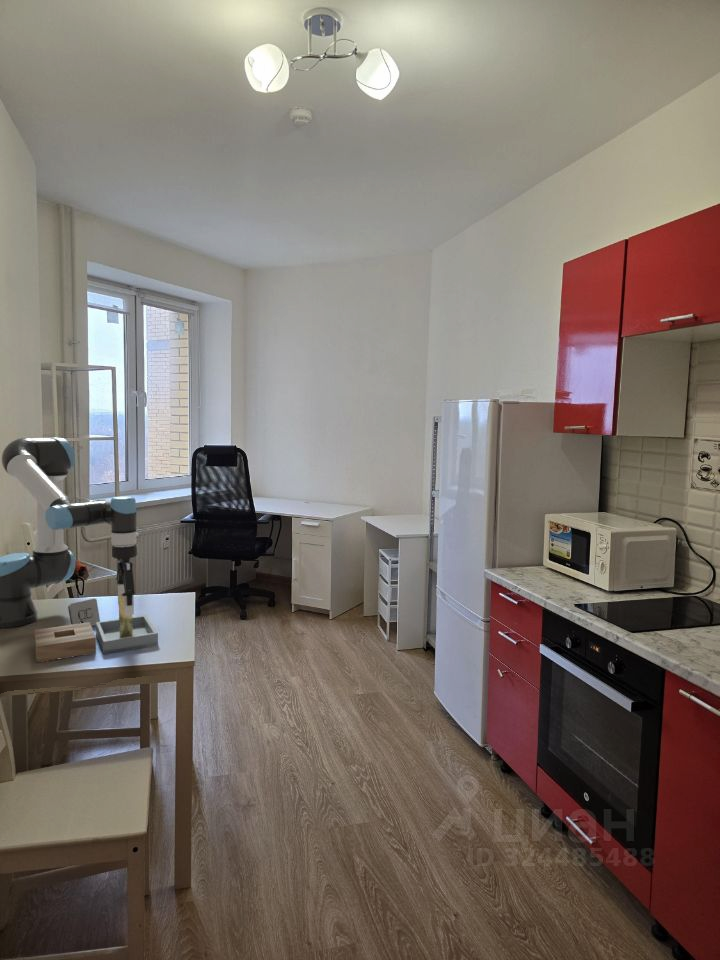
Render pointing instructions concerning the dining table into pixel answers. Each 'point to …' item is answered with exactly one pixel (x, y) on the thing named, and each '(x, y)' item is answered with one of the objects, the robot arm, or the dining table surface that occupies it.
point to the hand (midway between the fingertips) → (125, 609)
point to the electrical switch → (84, 612)
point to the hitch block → (64, 641)
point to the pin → (124, 620)
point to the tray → (113, 643)
